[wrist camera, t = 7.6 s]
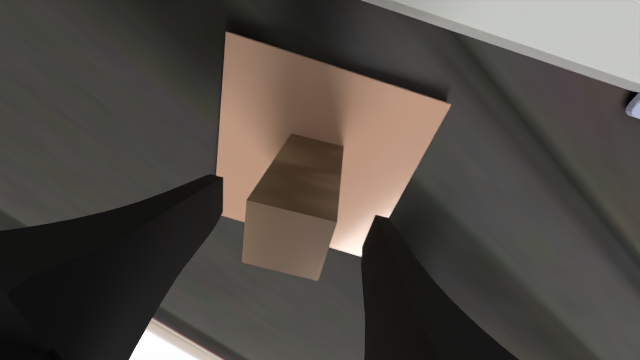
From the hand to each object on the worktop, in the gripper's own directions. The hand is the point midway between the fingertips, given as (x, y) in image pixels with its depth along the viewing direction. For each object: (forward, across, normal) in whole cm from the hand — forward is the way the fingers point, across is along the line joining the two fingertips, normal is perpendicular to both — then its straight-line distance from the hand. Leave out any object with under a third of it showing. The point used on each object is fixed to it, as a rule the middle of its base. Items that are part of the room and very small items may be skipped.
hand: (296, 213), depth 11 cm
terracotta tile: (+5, 0, 0) cm, 5 cm away
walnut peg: (+5, 0, 0) cm, 5 cm away
